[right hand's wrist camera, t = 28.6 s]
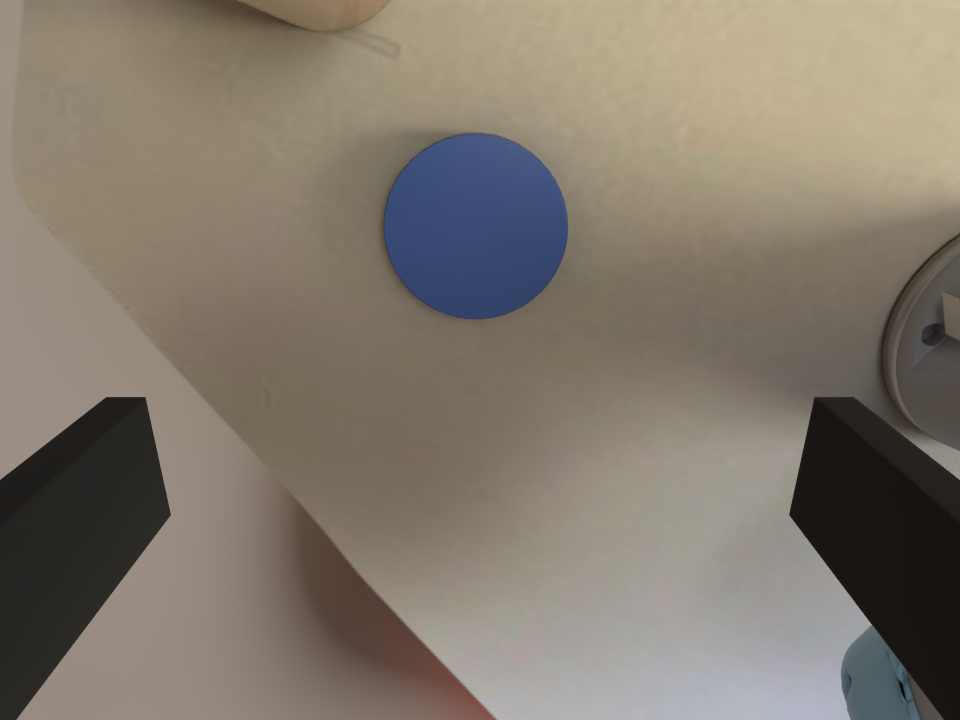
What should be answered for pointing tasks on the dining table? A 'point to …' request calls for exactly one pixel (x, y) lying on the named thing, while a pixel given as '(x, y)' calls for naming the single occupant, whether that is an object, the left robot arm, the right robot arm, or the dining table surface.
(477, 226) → the lid
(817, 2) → the dining table surface
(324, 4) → the jar
